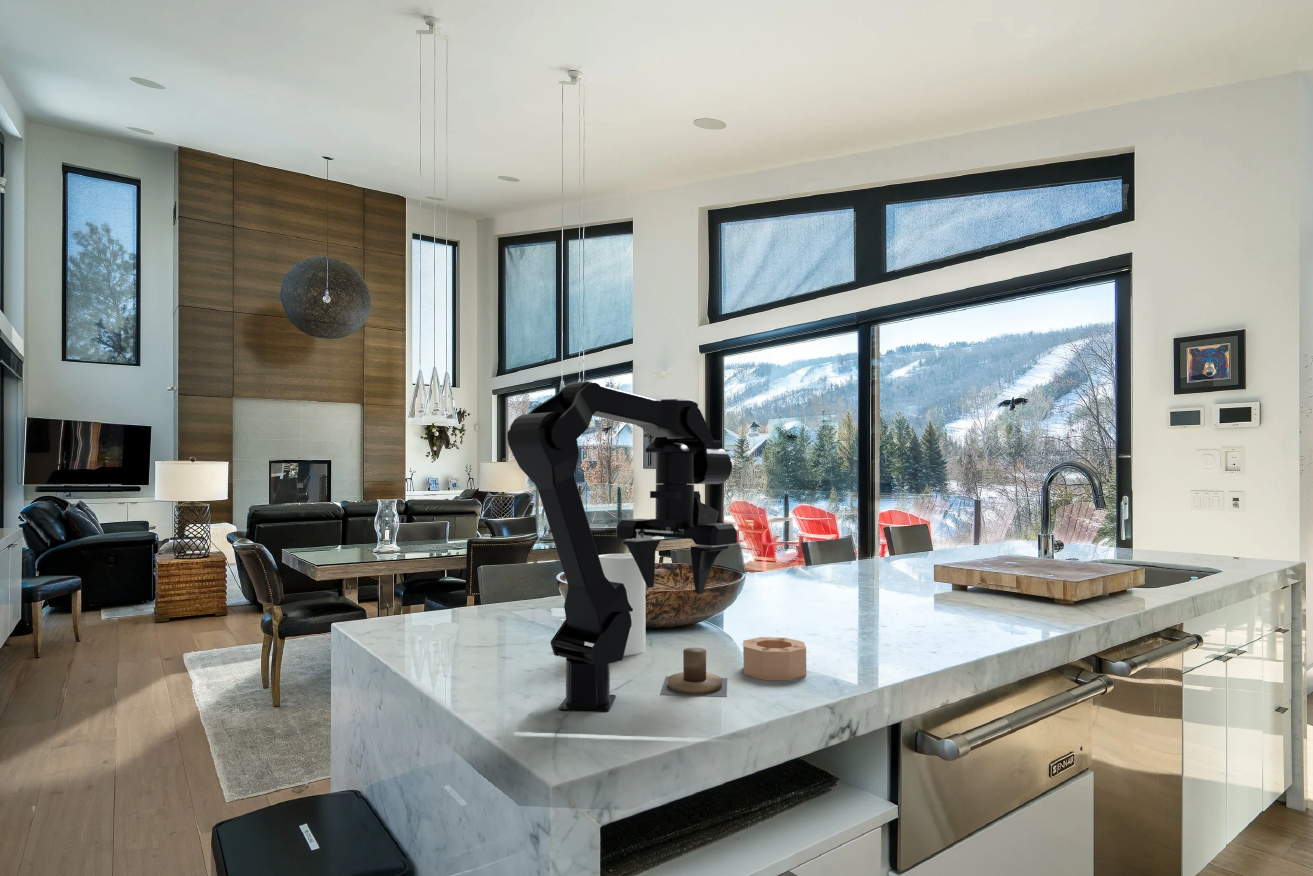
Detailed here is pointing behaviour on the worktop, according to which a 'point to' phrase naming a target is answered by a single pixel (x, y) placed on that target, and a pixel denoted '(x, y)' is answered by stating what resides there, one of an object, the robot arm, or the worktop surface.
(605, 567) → the cup
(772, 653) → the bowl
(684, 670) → the lid
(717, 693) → the mat
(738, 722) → the worktop surface
